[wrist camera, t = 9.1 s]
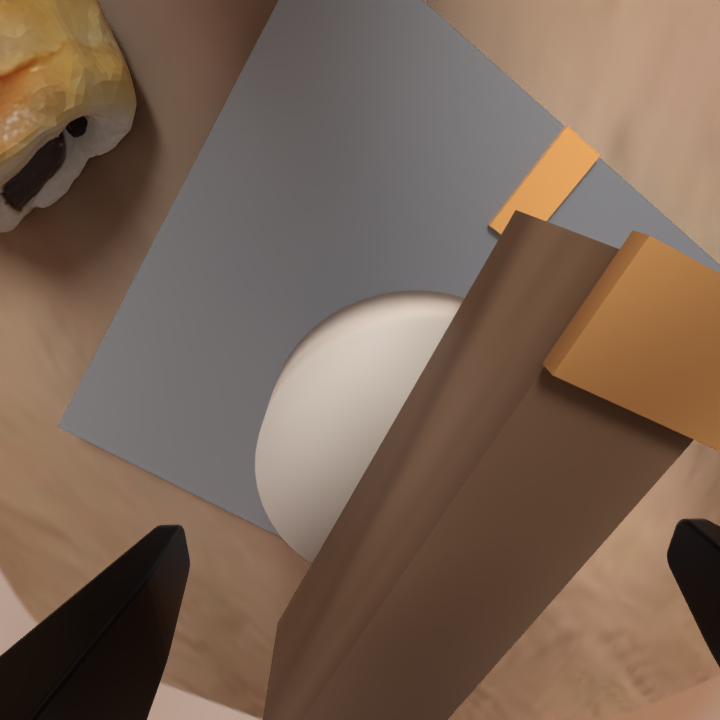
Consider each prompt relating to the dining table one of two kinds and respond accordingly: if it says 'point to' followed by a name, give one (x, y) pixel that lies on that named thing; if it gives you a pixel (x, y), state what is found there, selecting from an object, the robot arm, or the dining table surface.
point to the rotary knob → (473, 460)
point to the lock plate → (328, 225)
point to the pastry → (56, 99)
